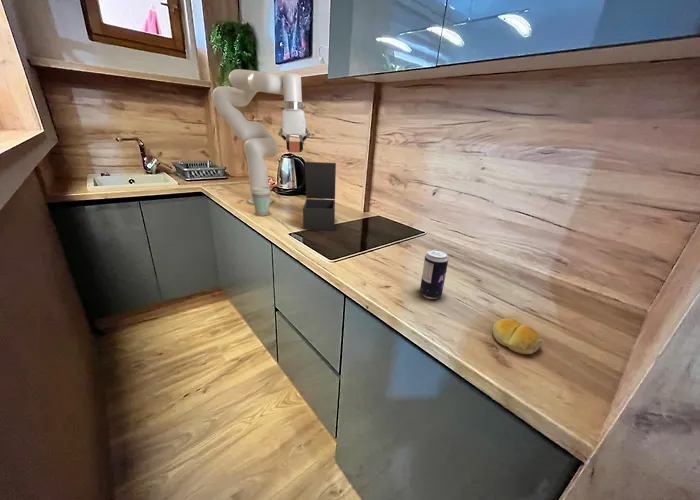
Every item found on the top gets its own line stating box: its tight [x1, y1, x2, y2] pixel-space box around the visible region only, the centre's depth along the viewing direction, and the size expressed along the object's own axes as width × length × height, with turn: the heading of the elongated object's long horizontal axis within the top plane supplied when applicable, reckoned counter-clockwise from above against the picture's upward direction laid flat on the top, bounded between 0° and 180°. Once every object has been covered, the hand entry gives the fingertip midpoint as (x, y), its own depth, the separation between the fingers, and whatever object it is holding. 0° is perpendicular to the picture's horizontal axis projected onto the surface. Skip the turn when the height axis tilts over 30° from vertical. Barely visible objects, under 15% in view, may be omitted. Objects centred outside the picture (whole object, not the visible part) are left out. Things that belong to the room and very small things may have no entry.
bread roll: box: [492, 317, 543, 355], centre depth 63 cm, size 8×9×4 cm
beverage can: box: [419, 249, 449, 300], centre depth 77 cm, size 6×6×12 cm
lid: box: [304, 161, 337, 200], centre depth 129 cm, size 16×13×1 cm
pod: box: [289, 140, 301, 153], centre depth 136 cm, size 4×4×4 cm
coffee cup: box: [251, 186, 271, 217], centre depth 138 cm, size 8×8×12 cm
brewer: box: [302, 198, 336, 231], centre depth 129 cm, size 16×13×9 cm
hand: (295, 151), depth 137 cm, fingers closed on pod, 4 cm apart
